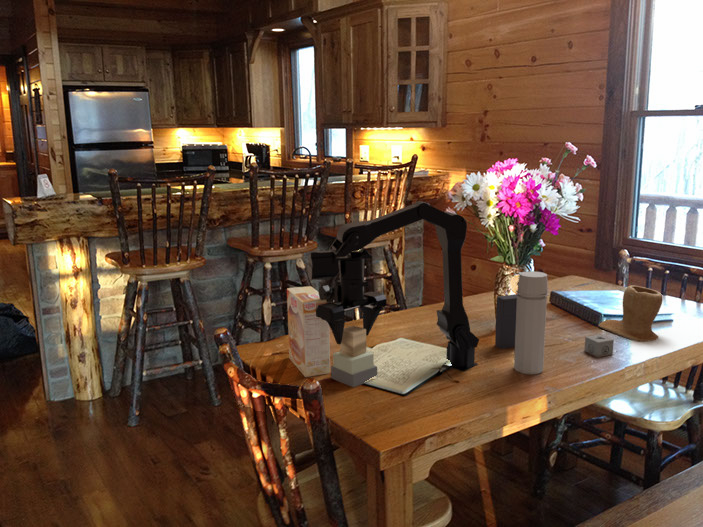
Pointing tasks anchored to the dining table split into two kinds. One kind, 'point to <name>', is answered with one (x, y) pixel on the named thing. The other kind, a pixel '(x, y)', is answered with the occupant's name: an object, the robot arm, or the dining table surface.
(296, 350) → the coffeecake box
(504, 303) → the dark upright pillar
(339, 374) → the tower base
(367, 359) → the tower top
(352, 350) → the wood block
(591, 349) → the grey cube
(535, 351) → the water bottle
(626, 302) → the brown hollow flared piece
